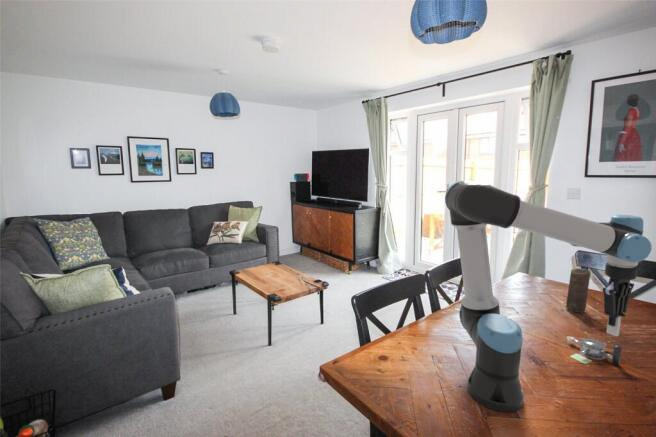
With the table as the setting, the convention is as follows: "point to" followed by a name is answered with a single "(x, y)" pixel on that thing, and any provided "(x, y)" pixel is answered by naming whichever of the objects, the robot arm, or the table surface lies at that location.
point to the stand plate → (583, 358)
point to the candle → (578, 290)
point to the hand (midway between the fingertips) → (612, 334)
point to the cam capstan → (597, 349)
